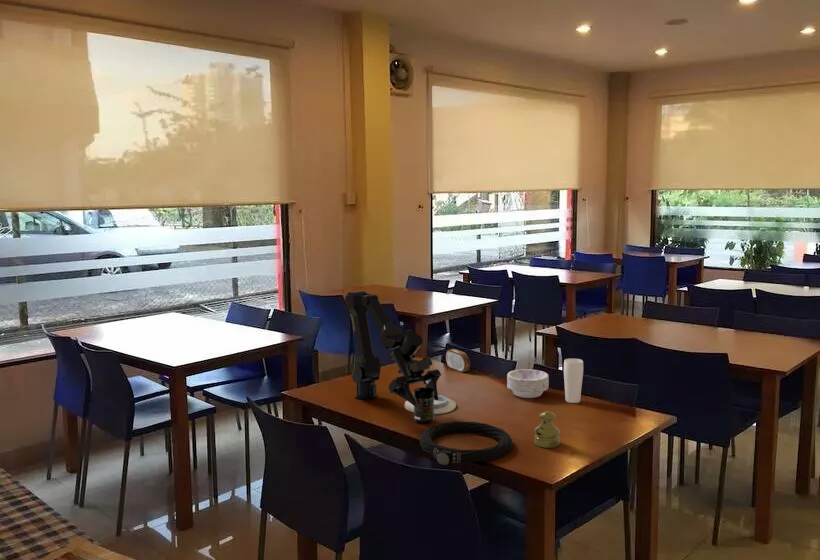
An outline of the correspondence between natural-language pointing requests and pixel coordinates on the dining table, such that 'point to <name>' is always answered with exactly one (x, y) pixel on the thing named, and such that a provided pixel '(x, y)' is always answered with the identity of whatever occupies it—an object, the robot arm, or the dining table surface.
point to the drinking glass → (573, 379)
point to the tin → (457, 360)
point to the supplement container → (424, 405)
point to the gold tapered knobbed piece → (547, 431)
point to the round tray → (436, 411)
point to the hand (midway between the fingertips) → (426, 402)
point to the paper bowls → (527, 382)
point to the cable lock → (458, 455)
